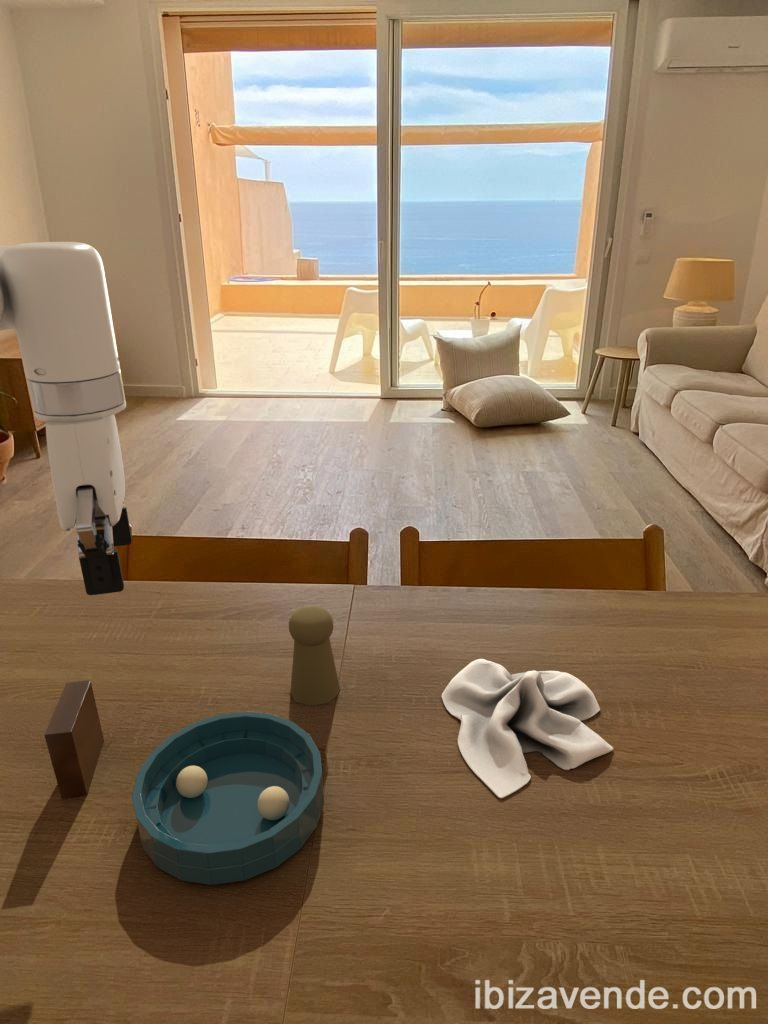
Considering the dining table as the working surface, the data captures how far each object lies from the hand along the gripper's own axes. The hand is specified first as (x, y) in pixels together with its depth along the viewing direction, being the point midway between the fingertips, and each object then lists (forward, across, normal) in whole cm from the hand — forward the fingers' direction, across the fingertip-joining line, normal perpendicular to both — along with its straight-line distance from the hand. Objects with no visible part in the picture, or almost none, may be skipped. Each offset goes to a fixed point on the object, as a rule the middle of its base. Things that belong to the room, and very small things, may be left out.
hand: (111, 567), depth 67 cm
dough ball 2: (+20, +14, +13) cm, 28 cm away
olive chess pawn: (+22, -4, +20) cm, 30 cm away
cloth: (+22, +8, +42) cm, 48 cm away
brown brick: (+22, +2, -6) cm, 23 cm away
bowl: (+22, +12, +9) cm, 27 cm away
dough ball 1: (+20, +9, +5) cm, 23 cm away
